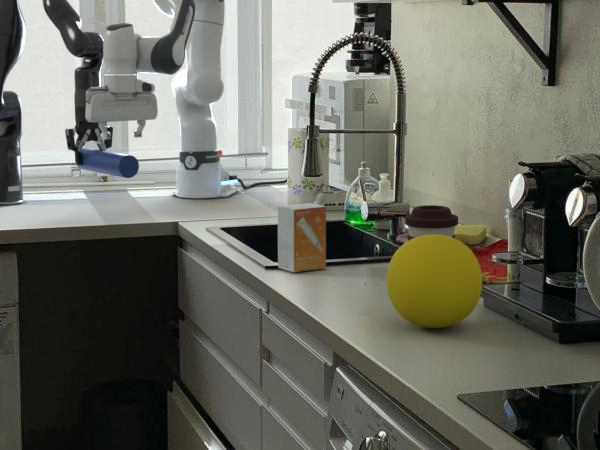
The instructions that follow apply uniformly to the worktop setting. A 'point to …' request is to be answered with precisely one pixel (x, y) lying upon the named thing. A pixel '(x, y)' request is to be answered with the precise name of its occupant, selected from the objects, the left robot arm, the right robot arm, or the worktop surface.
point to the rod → (109, 163)
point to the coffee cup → (431, 221)
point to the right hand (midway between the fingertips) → (122, 138)
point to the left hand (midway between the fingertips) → (90, 164)
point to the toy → (434, 281)
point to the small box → (301, 237)
